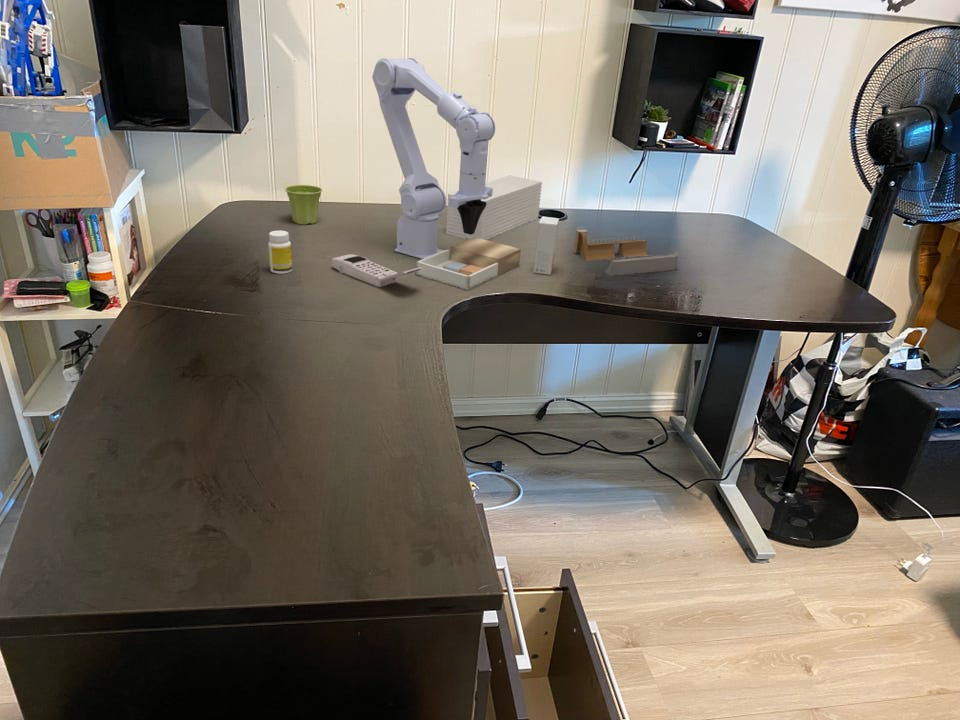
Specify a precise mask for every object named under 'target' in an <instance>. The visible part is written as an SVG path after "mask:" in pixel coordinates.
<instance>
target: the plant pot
mask: <svg viewBox="0 0 960 720" xmlns="http://www.w3.org/2000/svg"><path fill="white" fill-rule="evenodd" d="M284 190H285V192H286V194H287V197H288V200H289V201H288V202H289V206H290V211H291V216H292V222H294V223H295V224H298V225H308V224H312V225H313V224H315V223H317V221H318V213H319V203H320V197H321V195H322V194H321V193H322V192H323V188H322V187H319V186H316V185H310V184H295V185H289V186H286V187H285V188H284Z"/></svg>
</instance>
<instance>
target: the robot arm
mask: <svg viewBox="0 0 960 720" xmlns="http://www.w3.org/2000/svg"><path fill="white" fill-rule="evenodd" d="M371 77H372V81H373V84H374V86H375V90H376V92H377V96H378V100H379V107H380V110H381V113H382V116H383V118H384V122H385V125H386V128H387V131H388V133H389V136H390V140H391V143H392V145H393V149H394V151H395V154H396V157H397V160H398V163H399V166H400V170H401V172H402V176H403V178H404V181H403V182H402V184H401V185H400V187H399V189H398V191H399V195H400V205H401V209H402V212H403V213H402V214H401V215H400V216H399V218H398V220H397V226H396V248H395V249H394V251H395V252H397V253H401V254H404V255H408V256H411V257H414V258H417V259H420V260H422V259H425V258H427V257H430V256H432V255H435V254H437V253H440V252H442V251H445V250H444V249H441V248H438V243H439V241H438V239H439V237H438V235H439V217H441V216H442V215H441V214H442V212H443V211H444V209H445V208H446V205H447V196H446V193H445V192H444V190H443V189H442V187H441V186H440V184H439V182H438V179H437V177H435V176H433V175H432V174H430V173H428V171H427V168H426V165H425V162H424V159H423V155H422V153H421V150H420V147H419V143H418V141H417V138H416V134H415V131H414V129H413V127H412V123H411V120H410V117H409V114H408V111H407V108H406V105H407V103H408V101H409V100H411V98H412V96H414V95H413V94H415V92H418V93H419V94H421V95H422V96H423V97H424V98H426V99H427V100H429V101H430V102H431V103H432V104H433V105H435V106H436V112H437V114H438V116H440V117H441V118H442V119H443V120H445V121H446V122H447V123H448V124H449V125H450V126H451V127H452V128H454V130H455V131H456V136H457V138H458V140H459V149H460V165H459V180H458V181H459V182H458V190H457V191H458V192H457V191H456V192H457V193H456V194H454V195H453V196H452V197H449V206H450V207H454V208H457V209H458V211H459V214H460V217H461V221H462V225H463V231H464V233H466V234H470V235H472V234H474V233H475V230H476V227H477V224H478V221H479V218H480V216H481V214H482V212H483V210H484V209H485V207H486V202H484V201H481V199H483V200H485V199H488V198H489V197H492V192H493V188H490V187H485V183H486V182H487V180H486V179H487V167H488V152H489V143H490V142H489V141H490V140H491V139H493V137H494V135H495V133H496V124H495V123H496V122H495V120H494V118H493V117H492V116H491V115H490V114H489V113H488V112H479V111H478V110H477V108H476V107H475V106H472V105H470V104H469V103H468V102H467V101H465V99H463V95H462V94H461V93H460V92H454V91H450V92H447V91H446V90H445V88H443V87H442V86H441V85H440V84H438V82H437V81H436V80H435V79H434V78H433V77H431V75H430V74H428V72H427V71H426V69H425V65H424V64H422V63H421V62H419V60H417V59H416V58H413V57H408V58H387V57H386V58H384V57H382V58H380V59H378V61H376V63H375V66H374V68H373V73H372V76H371Z"/></svg>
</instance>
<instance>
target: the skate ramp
mask: <svg viewBox="0 0 960 720" xmlns="http://www.w3.org/2000/svg"><path fill="white" fill-rule="evenodd" d="M582 228H584V229H582ZM588 228H589V227H587V226H585V225H584V226H583V225H582V226H579V227H576V231H575V237H574V244H573V250H572V251H573V253H575V254H577V253H579V252H580V257H579V258H581V259H582V260H584V261H585V262H593V261H603V260H604V259H606V260H609V261H610V262H609V263H608V264H609V265H608V267H607V269H606V270H604V271H603V273H605V274H606V275H608V274H609V275H608V276H610V277H615V275H617V276H626V275H625V274H627V275H635V273H637V274H646V273H654V272H665V271H666V272H667V271H675V270H676V267H677V261H678V256H679V252H677V251H674V253H672V252H671V253H670V252H669V253H668V254H667V253H664V255H663V253H661V254H659V253H658V254H656V256H655V255H651V256H650V254H649V253H648V250H647V240H646V239H645V235H643V238H642V236H641V235H640V236H635V237H634V236H631V240H630V236H629V237H628V236H627V237H625V236H623V239H621V238H622V237H619V240H618V237H615V238H611V237H610V240H616V241H610V240H609V239H606V241H607V242H606V241H605V239H602V242H601V238H599V239H594V240H591V238H590V235H589V232H588V230H589V229H588ZM638 238H639V239H638ZM626 239H627V240H626ZM596 240H598V242H597V241H596ZM618 244H619V245H618ZM615 245H618V249H617V255H619V256H620V255H621V258H620V259H619V258H617V257H616V255H615ZM637 256H639V257H637ZM626 257H628V258H626ZM611 258H613V259H611ZM614 258H616V259H614Z"/></svg>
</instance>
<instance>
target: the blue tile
mask: <svg viewBox="0 0 960 720" xmlns="http://www.w3.org/2000/svg"><path fill="white" fill-rule="evenodd" d="M466 266H468V265H466V264H462V263H459V262H455V261H452V262H450V263H447V264H445V265H443V269H447V270H450V271H453V272H457V273H460V270H461V269H462V268H464V267H466Z"/></svg>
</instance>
